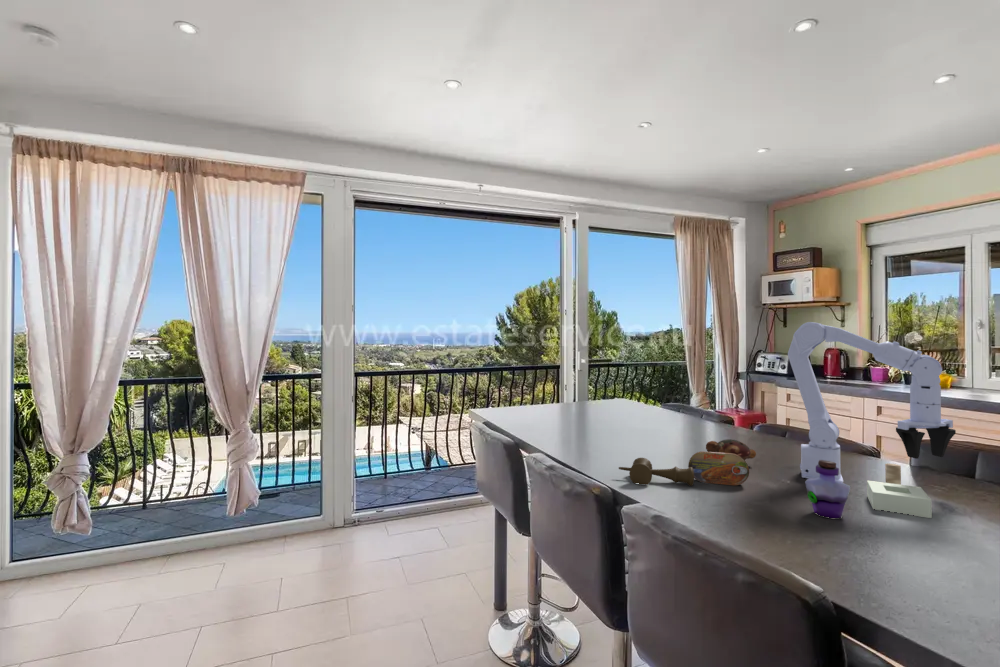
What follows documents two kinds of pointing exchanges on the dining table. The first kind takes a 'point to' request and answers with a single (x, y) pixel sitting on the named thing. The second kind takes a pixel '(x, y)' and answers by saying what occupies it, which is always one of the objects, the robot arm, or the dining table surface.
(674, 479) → the kendama
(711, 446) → the decorative turtle
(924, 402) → the robot arm
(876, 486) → the socket block
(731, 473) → the tin
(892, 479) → the peg
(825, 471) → the potion bottle
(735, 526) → the dining table surface
